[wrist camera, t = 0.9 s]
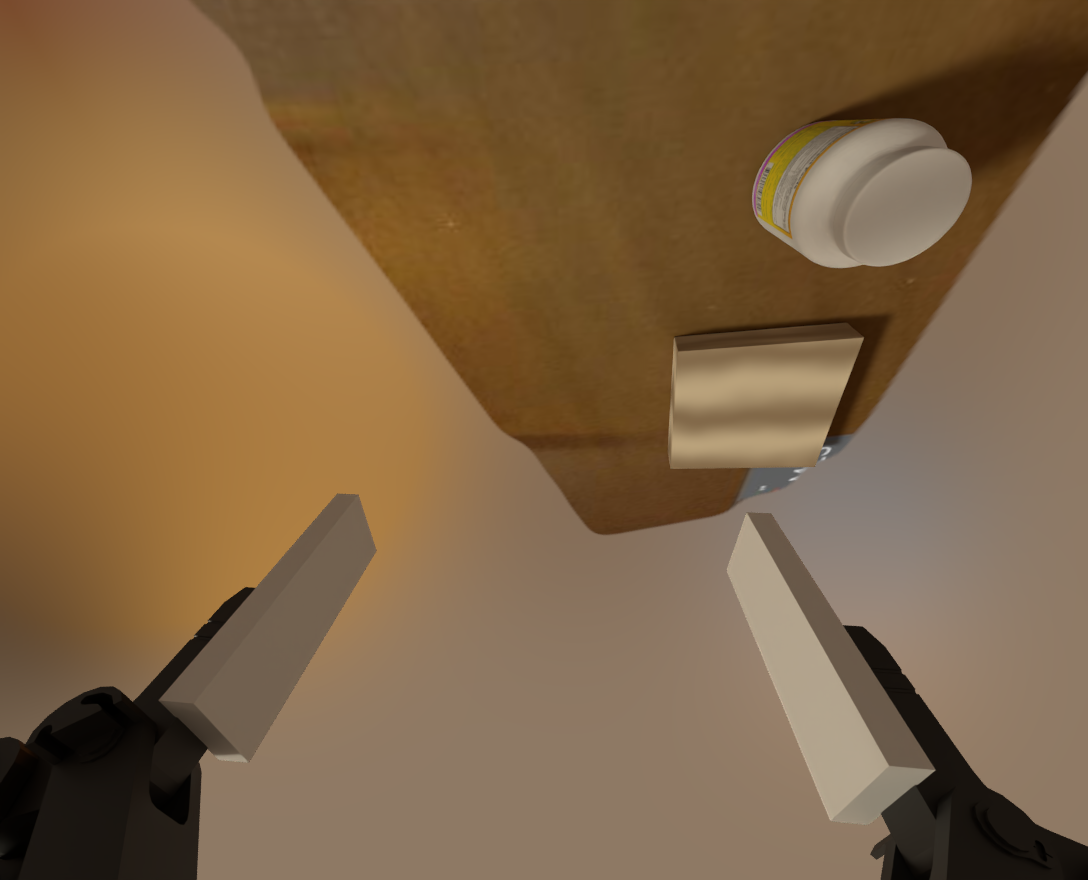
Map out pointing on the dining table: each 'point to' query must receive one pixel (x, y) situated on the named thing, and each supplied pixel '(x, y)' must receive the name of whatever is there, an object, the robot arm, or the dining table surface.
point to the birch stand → (757, 395)
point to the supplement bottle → (861, 190)
